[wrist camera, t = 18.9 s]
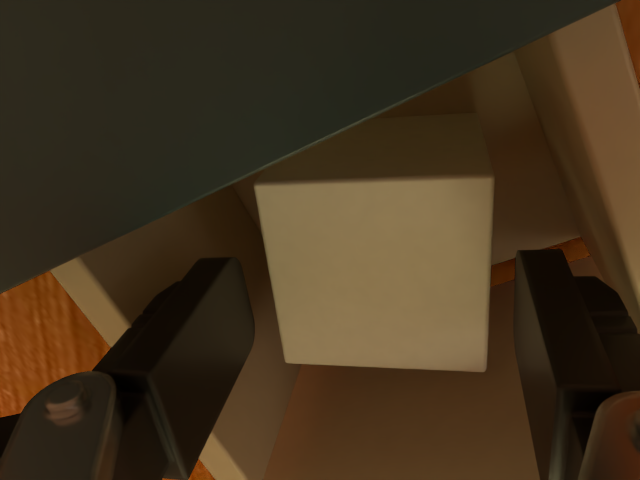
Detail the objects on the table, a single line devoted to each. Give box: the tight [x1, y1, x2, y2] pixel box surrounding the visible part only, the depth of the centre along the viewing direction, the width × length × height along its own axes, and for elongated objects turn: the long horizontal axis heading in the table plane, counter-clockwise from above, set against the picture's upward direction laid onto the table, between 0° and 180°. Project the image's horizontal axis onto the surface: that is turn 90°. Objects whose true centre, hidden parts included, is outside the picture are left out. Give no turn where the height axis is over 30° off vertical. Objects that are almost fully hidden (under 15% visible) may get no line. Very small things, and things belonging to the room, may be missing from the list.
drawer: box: [50, 4, 640, 480], centre depth 13 cm, size 18×11×8 cm, turn 28°
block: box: [254, 113, 495, 372], centre depth 13 cm, size 5×5×5 cm
